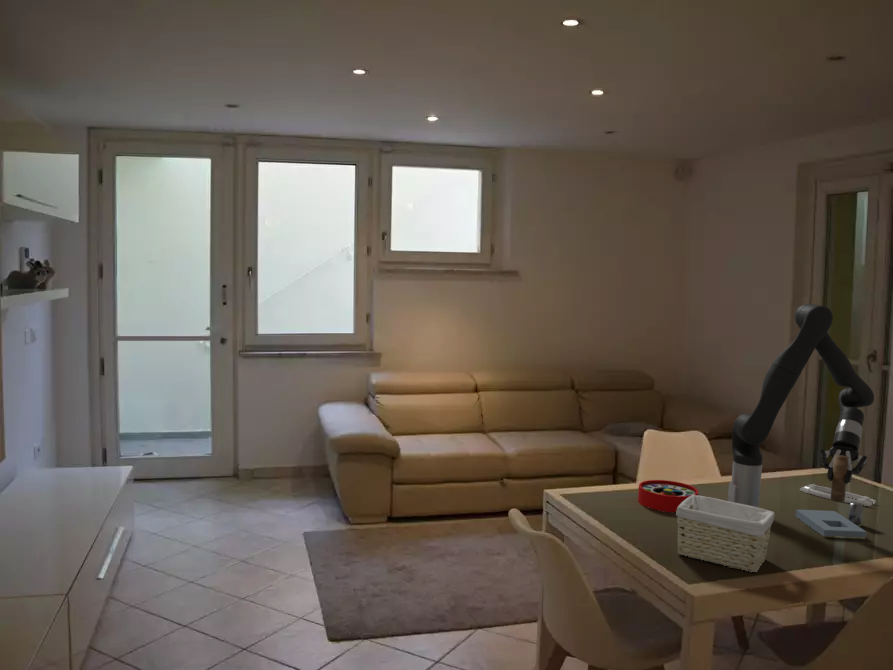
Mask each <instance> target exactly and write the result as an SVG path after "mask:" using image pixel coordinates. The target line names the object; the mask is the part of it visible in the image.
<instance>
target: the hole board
mask: <svg viewBox="0 0 893 670" xmlns="http://www.w3.org/2000/svg"><path fill="white" fill-rule="evenodd" d="M795 518H796V519H798V518H799V519H800V520H799V519H798V520H799V521H801V522H802V523H803V522H804V523H803V524H805V525H806V524H807V525H808V526H807V525H806V526H807V527H809V526H810V527H811V528H812V529H811V528H810V527H809V528H810V529H811V530H813V529H814V530H815V531H817V532H818V533H820V534H821V535H823V536H843V537H866V538H867V531H866V530H864V529H863V528H861V526H859V527H858V526H857V525H855V524H854V523H852V522H851V521H849V520H848V518H846V517H844V516H843V515H842V514H840V513H838V512H837V511H836V510H818V509H817V510H816V509H796V510H795ZM814 530H813V531H814ZM815 531H814V532H815ZM817 532H816V533H817ZM818 533H817V534H818ZM821 535H820V536H821Z"/></svg>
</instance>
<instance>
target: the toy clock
mask: <svg viewBox="0 0 893 670" xmlns="http://www.w3.org/2000/svg"><path fill="white" fill-rule="evenodd" d="M699 493H700V492H699V490H698V488H696V487H695V486H693V485H690V484H687V483H684V482H679V481H673V480H666V479H652V480H651V479H650V480H644V481H641V482H640V483H639V484H638V495H637V503H638V504H639V503H640V504H639V505H641V506H642V505H643V507H644V506H646V507H645V508H647V507H649V508H652V509H651V510H653V509H655V510H654V511H657V510H660V511H659V512H662V511H666V512H665V513H668V512H676V511H677V507H678V506H679V505H680V504H681V503H682V502H683V501H684V500H685V499H687V498H688V497H690V496H691V495H696V496H699ZM649 508H648V509H649Z"/></svg>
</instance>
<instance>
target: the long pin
mask: <svg viewBox="0 0 893 670" xmlns="http://www.w3.org/2000/svg"><path fill="white" fill-rule="evenodd" d="M847 471H848V457H847V456H843V455H834V463H833V476H832V481H831V487H830V488H831V493H830V494H831V500H830V501H833V502H839V503H843V501H845V498H846V497H845V492H846V488H847V484H845V477H846V472H847Z"/></svg>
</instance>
